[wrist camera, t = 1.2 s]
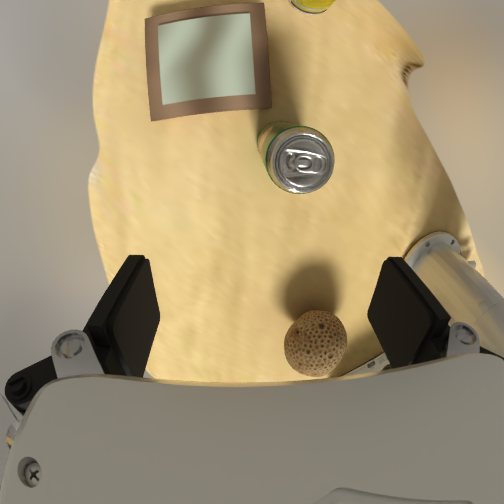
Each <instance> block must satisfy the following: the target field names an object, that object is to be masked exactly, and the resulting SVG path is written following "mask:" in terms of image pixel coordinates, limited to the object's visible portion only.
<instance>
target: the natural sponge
mask: <svg viewBox="0 0 504 504" xmlns="http://www.w3.org/2000/svg"><path fill="white" fill-rule="evenodd" d="M346 346H347V334H346V331H345V328H344V326H343V324H342V322H341V321H340V319H339V318H338V317H336V316H335V315H334V314H332V313H330V312H327V311H321V310H312V311H308V312H306V313H304V314H303V315H301V316H300V317H299V318H298V319H297V320H296V321H295V322H294V323H293V324H292V325H291V327H290V328H289V330H288V332H287V333H286V336H285V340H284V350H285V356H286V359H287V361H288V363H289V364H290V366H291V367H292V368H293V369H294V370H296V371H297V372H299V373H301V374H304V375H307V376H312V377H319V376H324V375H326V374H328V373H330V372H331V371H332V370H333V369H334V368H335V367H336V366H337V365H338V364H339V362H340V361H341V359H342V357H343V355H344V352H345V350H346Z"/></svg>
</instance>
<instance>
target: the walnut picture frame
mask: <svg viewBox="0 0 504 504" xmlns="http://www.w3.org/2000/svg"><path fill="white" fill-rule="evenodd" d="M145 47H146V68H147V83H148V95H149V106H150V116H151V121H158V120H163V119H169V118H175V117H182V116H188V115H196V114H204V113H212V112H222V111H233V110H247V109H267V108H272V103H271V86H270V71H269V57H268V43H267V31H266V19H265V8H264V3H241V4H227V5H217V6H208V7H200V8H194V9H188V10H182V11H177V12H172V13H167V14H162V15H158V16H154V17H150V18H146V19H145Z"/></svg>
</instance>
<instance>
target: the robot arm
mask: <svg viewBox="0 0 504 504" xmlns="http://www.w3.org/2000/svg"><path fill="white" fill-rule="evenodd" d="M475 267H476V263H475V261H473V260H472V261H467V260H466V259H465V258H463V257H462V256H461V249H460V245H459V243H458V241H457V240H456V238H454V237H453V236H452V235H451V234H449V233H447V232H443V231H441V232H434V233H431V234H429V235H427V236H425V237H423V238H422V239H421V240H419V241H418V242H417V243H416V244H415V245H414V246H413V247H412V248H411V250H410V251H409V252H408V254H407V255H406V257H405V259H403V258H402V257H388V258H387V260H385V261H384V262H383V265H382V268H381V271H380V275H379V278H378V281H377V285H376V288H375V291H374V294H373V297H372V300H371V303H370V306H369V309H368V313H367V315H368V319H369V321H370V323H371V325H372V327H373V329H374V331H375V333H376V335H377V338H378V340H379V342H380V344H381V346H382V348H383V350H384V352H385V354H386V356H387V359H388V361H389V363H390V365H391V367H392V369H388V370H383V371H377V372H371V373H364V374H357V375H350V376H342V377H334V378H324V379H313V380H301V381H285V382H257V383H220V382H194V381H178V380H164V379H152V378H143V375H144V371H145V368H146V364H147V361H148V357H149V354H150V351H151V347H152V344H153V341H154V337H155V334H156V331H157V328H158V324H159V321H160V311H159V307H158V302H157V297H156V293H155V288H154V283H153V278H152V272H151V267H150V262H149V259H145V257H144V255H129V256H128V257H127V259H126V260H125V262H124V263H123V265H122V266H121V268H120V269H119V271H118V273H117V274H116V276H115V277H114V279H113V280H112V282H111V284H110V285H109V287H108V289H107V290H106V291H105V293H104V295H103V296H102V298H101V300H100V301H99V303H98V305H97V307H96V308H95V310H94V312H93V313H92V315H91V317H90V319H89V320H88V322H87V324H86V326H85V327H84V330H83V331H80V330H69V331H66V332H63V333H62V334H60V335H59V336H58V337H57V338H56V339H55V340H54V341H53V343H52V346H51V354H52V356H49V357H48V358H45V359H44V360H41V361H39V362H37V363H35V364H33V365H31V366H29V367H27V368H25V369H23V370H21V371H19V372H17V373H15V374H14V375H12V376H11V377H10V378H9V379H8V381H7V383H6V386H5V395H4V396H2V395H1V394H0V504H504V298H503V297H502V296H501V295H500V294H499V293H498V292H497V291H496V290H495V289H494V288H493V287H492V285H490V283H489V282H488V281H487V280H486V279H485V278H484V277H483V276H482V275H481V274H480V273H479V272H477V271H476V270H475V269H474V268H475Z"/></svg>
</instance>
